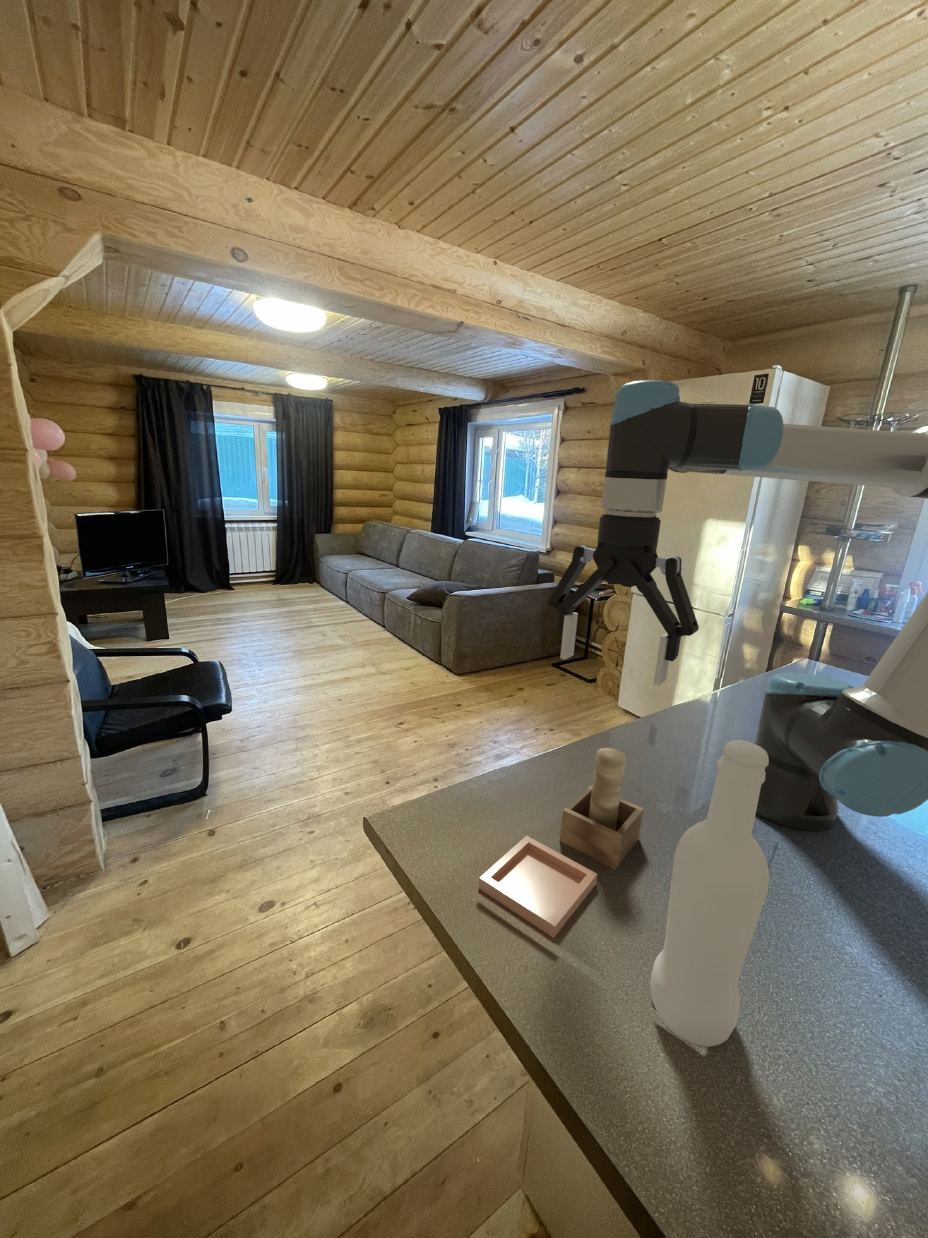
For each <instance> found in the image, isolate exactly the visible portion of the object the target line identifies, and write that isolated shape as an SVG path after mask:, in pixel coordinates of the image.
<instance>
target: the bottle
mask: <svg viewBox="0 0 928 1238" xmlns="http://www.w3.org/2000/svg"><path fill="white" fill-rule="evenodd" d="M717 760H718V761H717V762H716V770H717V774H716V777H715V781H714V782H715V783H714V786H713V792H712V795H711V798H710V799H711V800H710V803H709V807H708V813H707V816H706V819H704V820H701V821H699V822H697V823H695V824H694V825H692V826H691V827H689V828H688V829H687V830H686V831H685V832H684V834H682V836H681V837H680V838H679V840H678V844H677V847H676V849H675V851H674V857H673V863H672V865H673V866H672V872H671V882H670V891H669V892H670V893H669V899H668V900H669V902H668V908H667V909H668V911H667V918H666V919H667V921H666V928H665V936H664V937H665V939H664V943H663V944H664V945H663V948H662V950H661V952H659V954H658V955H657V956H656V958H655V960H654V962H653V966H652V971H651V977H650V997H651V1000H652V1003H653V1006H654V1009H655V1012H656V1014H657V1015H658V1017H659V1019H660V1020H661V1022H662V1023H663V1024H664V1026H666V1027H667V1029H669V1031H671V1032H672V1033H673V1034H675V1035H676V1036H677V1037H678V1038H680V1039H681V1040H683V1041H685V1042H687V1043H688V1044H692V1045H695V1046H698V1047H705V1048H707V1047H708V1048H709V1047H710V1048H711V1047H715V1046H719V1045H722V1044H723V1043H724V1042H726V1041H728V1039H729V1037H730V1036H731V1034H732V1033H733V1031H734V1029H735V1028H736V1026H737V1022H738V1019H739V1015H740V1008H741V997H740V992H739V985H738V983H739V979H740V976H741V973H742V970H743V966H744V963H745V961H746V959H747V955H748V952H749V948H750V946H751V942H752V940H753V936H754V933H755V931H756V928H757V925H758V922H759V919H760V916H761V914H762V910H763V907H764V904H765V900H766V899H767V894H768V890H769V883H770V881H769V880H770V870H769V867H768V861H767V859H766V856H765V854H764V851H763V850H762V848H761V846H760V845H759V843H758V841H757V840H756V839H755V838H754V836H753V830H754V826H755V825H754V824H755V819H756V815H757V814H756V809H757V804H758V799H759V794H760V789H761V784H762V783H763V782H764V781H765V774H766V773H765V767H767V766H768V765H769V758H768V754H767V752H766V751H765V750H764V749H763V748H761V747H760V746H758V745H756V744H755V743H754V742H750V741H746V740H740V739H737V740H736V739H735V740H731V741H730V740H729V741H728V742H727V743H726V744H725V745H724V747H723V749H722V756H720V758H719V759H717Z"/></svg>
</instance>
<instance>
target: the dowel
mask: <svg viewBox="0 0 928 1238" xmlns="http://www.w3.org/2000/svg"><path fill="white" fill-rule="evenodd" d="M595 754H596V756H595V762H594V771H593V780H592V784H591V786H592V793H591V801H590V808H589V816H588V818H589V819H591V820H593V821H595V822H597V823H599V824H601V825H603V826H606V827H608V828H610V829H612V830H614V831H615V830H616V823H617V816H618V810H619V803H620V798H621V794H622V789H623V782H624V774H625V769H626V768H625V767H626V759H627V756H626V754H625V753H623V751H621V750H618V749H616V748H611V747H602V748H599V749H598V750H597V751H596V753H595Z"/></svg>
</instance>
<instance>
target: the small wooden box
mask: <svg viewBox="0 0 928 1238" xmlns="http://www.w3.org/2000/svg"><path fill="white" fill-rule="evenodd" d="M591 793H592V784H591V785H589V786H587V788H585V789H584V790H583V791H582V792H581V793H580V794H579V795H578V796H576V797H575V798H574V799H573V800H572V801H571V802H570V803H569V804H568V805H567V806H566V807H565V808H564V809H562V816H561V827H560V833H559V834H560V835H559V842H560V843H562V844H564V845H566V846H569V847H571V848H572V849H574V850H576V851H578V852H579V853H581V854H583V855H585V856H587V857H588V858H591V859H593V860H595V861H596V862H599V863H601V864H602V865H604V866H606V867H608V868H611V870H614V871H616V870H617V869H618V867H619V866H620V865H621V863H622V862H623V861H624V859H625V858H626V857H627V855H628V854H629V853H630V852H631V850H632V849H633V848H634V846H635V845H636V844H637V842H638V841H639V839H640V834H641V829H642V824H643V823H642V822H643V816H644V811H645V809H644V808H643V807H641V806H639V805H636V804H634V803H631V802H630V801H628V800H625V799H623V798H621V797H620V803H619V810H618V816H617V823H616V830H615V831H614V830H612V829H610V828H608V827H606V826H603V825H601V824H599V823H597V822H595V821H593V820H591V819H589V818H588V816H589V808H590V801H591Z"/></svg>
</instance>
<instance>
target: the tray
mask: <svg viewBox="0 0 928 1238" xmlns="http://www.w3.org/2000/svg"><path fill="white" fill-rule="evenodd" d="M597 880H598V873H597V872H595V871H593V870H591V869H589V868H587V867H585V866H584V865H582V864H580V863H579V862H576V861H574V860H573V859H571V858H569V857H567V856H565V855H563V854H561V853H560V852H558V851H557V850H554V849H552V848H550V847H549V846H547V845H545V844H543V843H541V842H539V841H538V840H536V839H534V838H532V837H530V836H529V835H525V836H524V837H523V838H522V839H521V840H519V841H518V843H516V845H514V846H513V847H512V848H510V849H509V850H508V851H507V852H506V853H505V854H504V855H502V857H501V858H499V859H498V860H497V861H496V862H495V863H494V864H493V865H492V866H491V867H489V869H487V870H486V871H485V872H484V873H483V874H482V875H481V876H479V878H478V890H480V891H482V892H483V893H485V894H487V896H490V897H491V898H493V899H494V900H495V901H497V902H499V903H500V904H501V905H503V906H505V907H506V908H508V909H509V910H511V911H512V912H513V913H515V914H517V915H518V916H520V917H521V918H522V919H524V920H526V921H527V922H529V923H530V924H532V925H534V926H535V927H536V928H537V929H540V930H541V931H543V932H544V933H545V934H547V935H549V936H550V937H552V938H555V937H557V934H558V933H559V932H560V931H561V929H562V928H563V927H564V926H565V925H566V923H567V922H568V921H569V920H570V918H571V917H572V915H574V913H575V912H576V911H577V909H578V908H579V907H580V906H581V904H582V903H583V901H584V900H585V899H586V898H587V897H588V895H589V894H590V893H591V892H592V890H593V889H594V888H595V886H597ZM477 893H478V894H479V895H480V896H482V897H483V898H485V899H487V901H489V902H491V903H492V904H494V905H496V906H497V907H498V908H499V909H501V910H503V911H505V912H506V913H508V914H509V915H510V916H511V917H513V918H514V919H516V920H517V921H519V922H521V923H522V924H524V925H525V926H527V927H528V928H530V929H531V930H532V931H534V932H536V933H537V934H539V935H540V936H542V937H543V938H545V939H546V940H547V941H549V942H550V943H552V944H554V943H555V942H554V941H553V940H551V939H550V938H548V937H546V935H544V934H542V933H540V932H539V931H538V930H536V929H535V928H533V927H532V926H530V925H528V924H527V923H525V922H524V921H523V920H521V919H519V918H518V917H517V916H515V915H514V914H512V913H511V912H509V911H507V909H504V908H503V907H502V906H500V905H498V904H497V903H496V902H494V901H492V900H491V899H490V898H488V897H487V896H485V895H484V894H482V893H480V892H479V891H478V892H477Z"/></svg>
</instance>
